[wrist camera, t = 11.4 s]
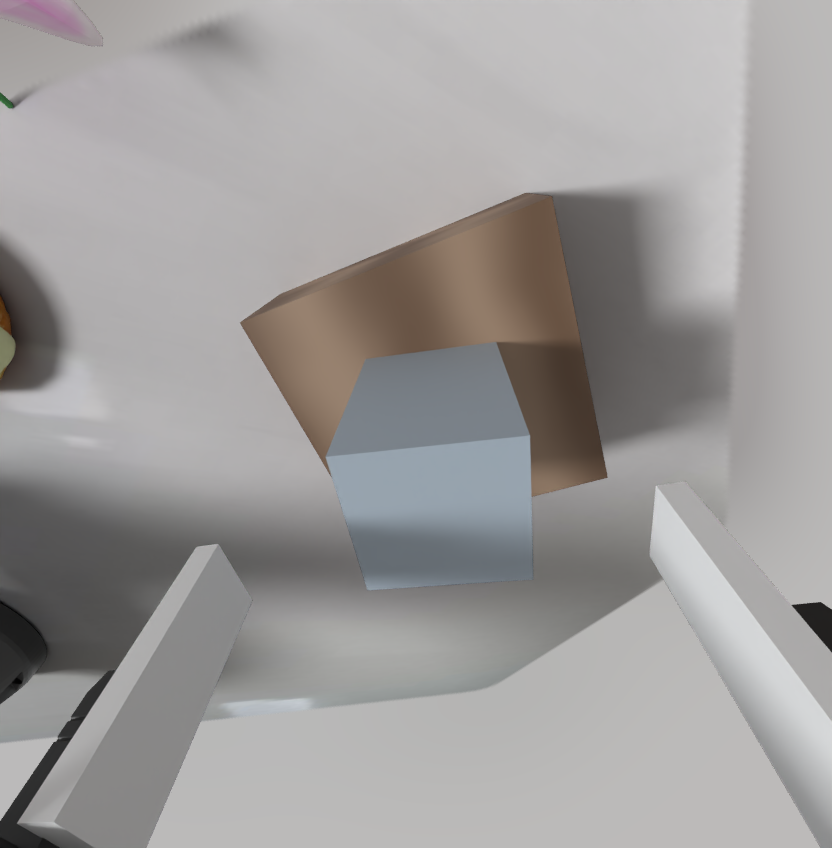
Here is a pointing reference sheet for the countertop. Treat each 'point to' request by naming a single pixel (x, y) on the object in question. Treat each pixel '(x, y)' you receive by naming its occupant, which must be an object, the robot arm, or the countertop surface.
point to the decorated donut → (5, 339)
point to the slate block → (435, 470)
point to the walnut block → (447, 329)
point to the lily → (51, 21)
